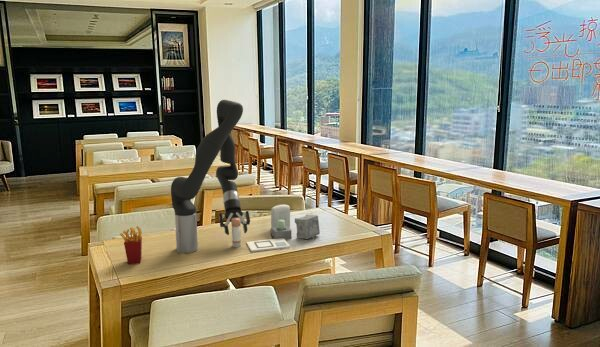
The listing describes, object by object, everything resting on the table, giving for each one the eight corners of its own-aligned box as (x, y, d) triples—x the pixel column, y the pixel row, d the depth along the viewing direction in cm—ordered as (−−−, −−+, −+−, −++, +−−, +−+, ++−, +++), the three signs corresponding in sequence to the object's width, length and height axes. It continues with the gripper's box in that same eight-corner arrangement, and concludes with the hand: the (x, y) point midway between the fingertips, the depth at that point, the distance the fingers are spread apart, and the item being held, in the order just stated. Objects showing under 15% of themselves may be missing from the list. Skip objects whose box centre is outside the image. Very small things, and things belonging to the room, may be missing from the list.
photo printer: (287, 225, 246) (286, 202, 243) (291, 227, 242) (291, 204, 240) (269, 228, 240) (269, 205, 237) (274, 231, 237) (273, 207, 234)
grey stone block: (307, 232, 235) (307, 212, 233) (320, 236, 230) (320, 215, 227) (294, 237, 228) (294, 216, 226) (306, 241, 223) (306, 220, 220)
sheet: (251, 252, 209) (251, 250, 209) (246, 243, 220) (246, 241, 219) (290, 247, 215) (290, 245, 214) (283, 239, 225) (283, 237, 225)
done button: (278, 234, 227) (278, 222, 225) (276, 231, 230) (276, 220, 228) (285, 233, 228) (285, 221, 226) (283, 231, 231) (283, 219, 229)
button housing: (275, 240, 224) (275, 232, 223) (271, 234, 232) (271, 226, 231) (291, 238, 227) (291, 230, 226) (286, 232, 234) (286, 225, 233)
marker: (233, 247, 214) (232, 220, 211) (231, 244, 218) (230, 218, 215) (241, 246, 215) (240, 219, 213) (240, 243, 219) (239, 217, 216)
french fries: (142, 264, 196) (139, 230, 193) (121, 265, 195) (118, 231, 191) (144, 256, 205) (142, 223, 202) (124, 257, 203) (121, 224, 200)
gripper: (217, 199, 217) (221, 231, 209) (247, 197, 221) (253, 228, 213) (216, 207, 223) (220, 238, 215) (245, 204, 227) (251, 235, 219)
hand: (236, 233), depth 214 cm, fingers open, 7 cm apart
